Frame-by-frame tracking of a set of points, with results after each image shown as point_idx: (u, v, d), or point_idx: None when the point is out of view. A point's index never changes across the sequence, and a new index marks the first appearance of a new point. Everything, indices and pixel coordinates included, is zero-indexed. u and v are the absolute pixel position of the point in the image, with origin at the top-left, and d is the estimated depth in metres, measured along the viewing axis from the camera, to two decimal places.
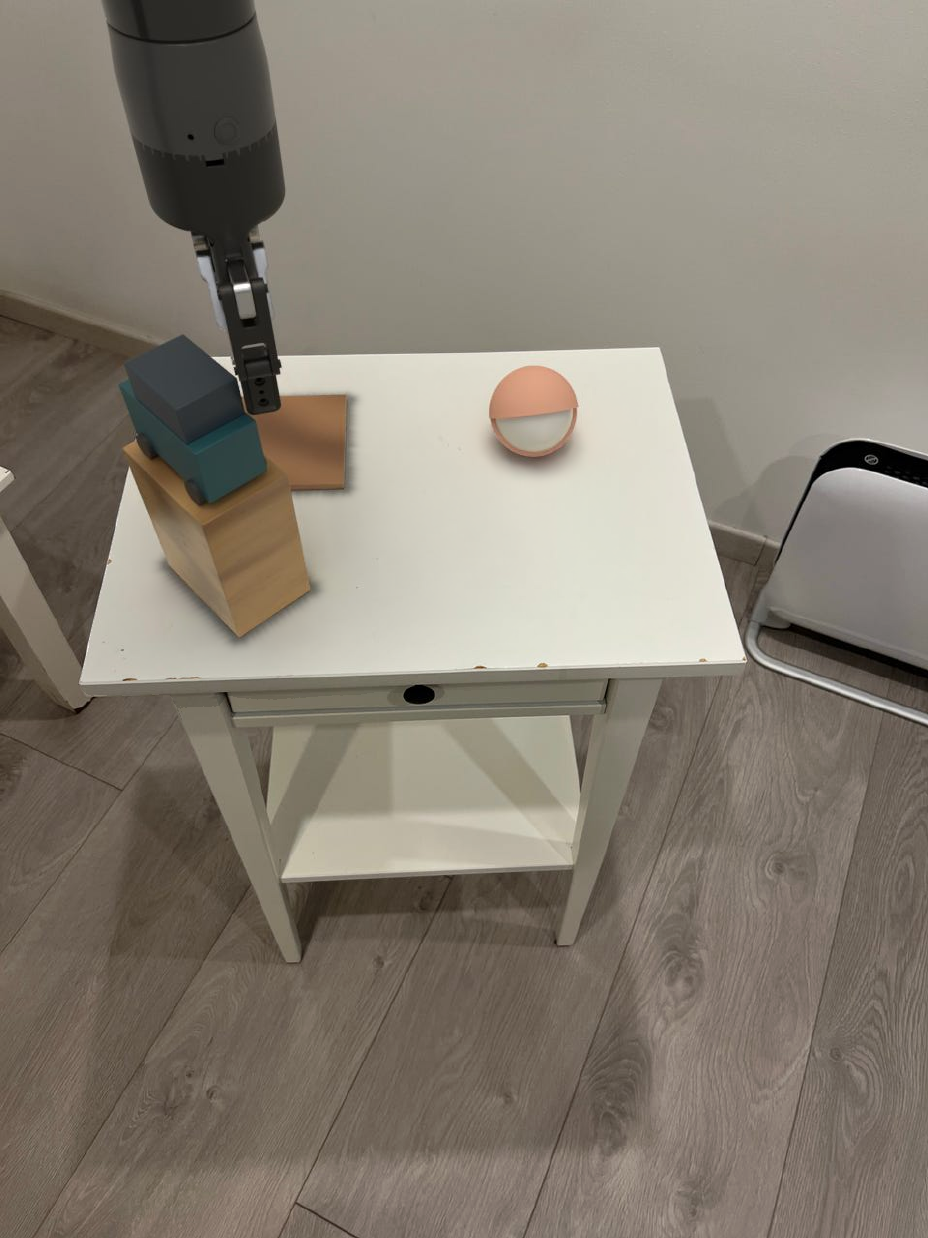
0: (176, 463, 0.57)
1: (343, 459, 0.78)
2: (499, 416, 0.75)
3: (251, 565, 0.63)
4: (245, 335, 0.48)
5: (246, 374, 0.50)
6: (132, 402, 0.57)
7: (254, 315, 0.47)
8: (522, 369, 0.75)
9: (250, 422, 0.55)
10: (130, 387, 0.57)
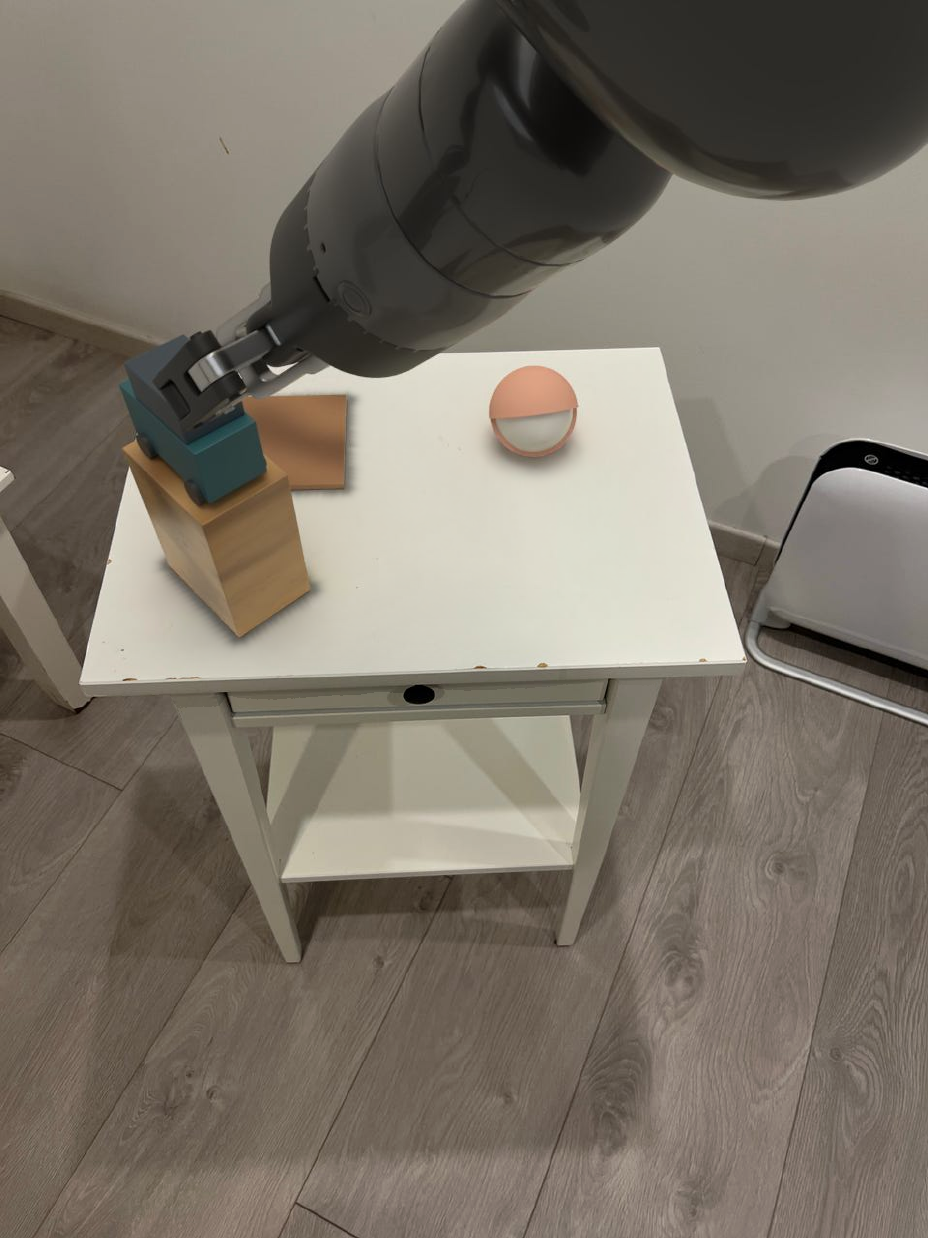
0: (175, 463, 0.57)
1: (343, 459, 0.78)
2: (499, 416, 0.75)
3: (251, 565, 0.63)
4: (180, 381, 0.34)
5: (159, 389, 0.36)
6: (132, 402, 0.57)
7: (199, 389, 0.34)
8: (522, 369, 0.75)
9: (250, 422, 0.55)
10: (130, 387, 0.57)
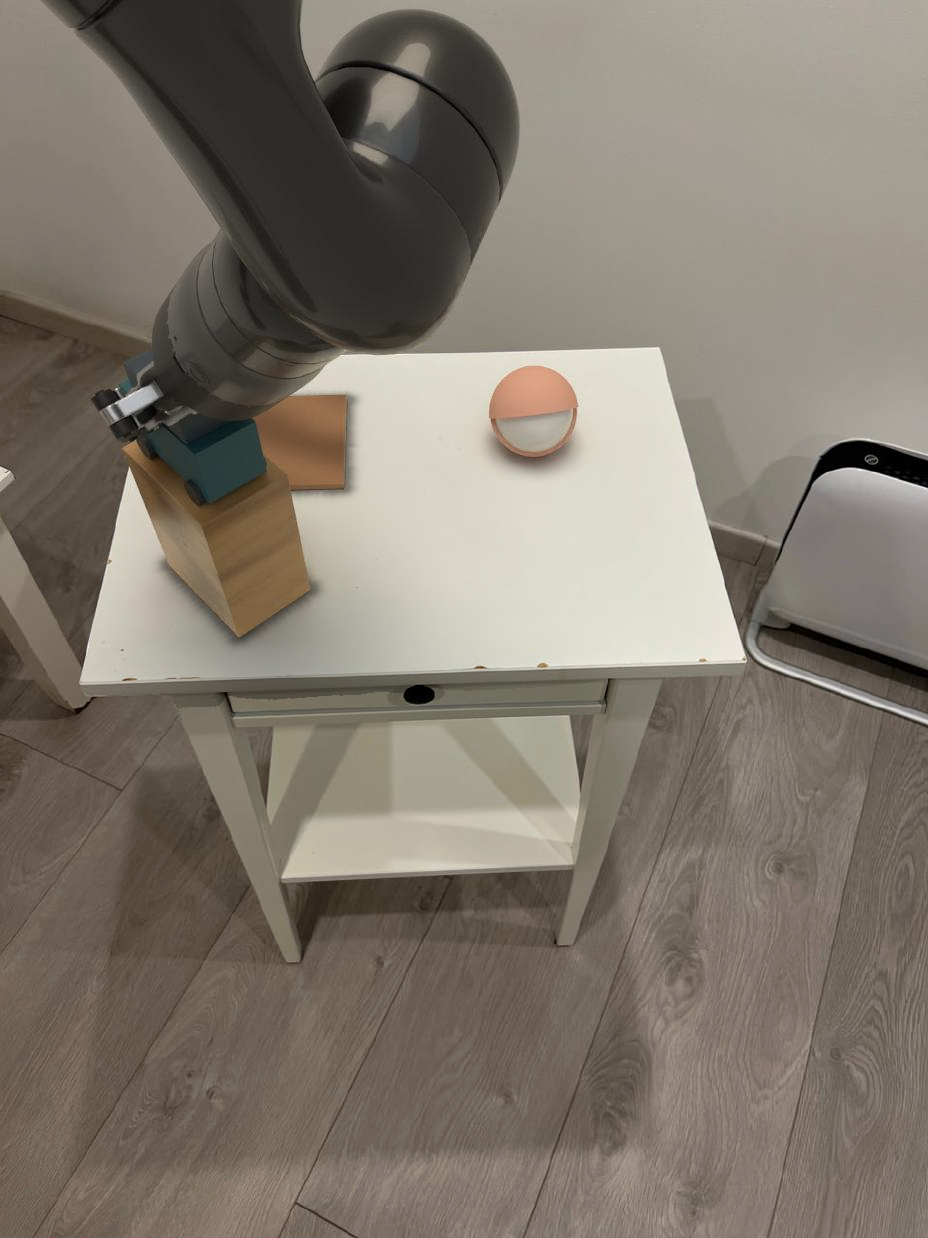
0: (175, 463, 0.57)
1: (343, 459, 0.78)
2: (499, 416, 0.75)
3: (251, 565, 0.63)
4: None
5: None
6: None
7: None
8: (522, 369, 0.75)
9: (250, 422, 0.55)
10: (130, 387, 0.57)
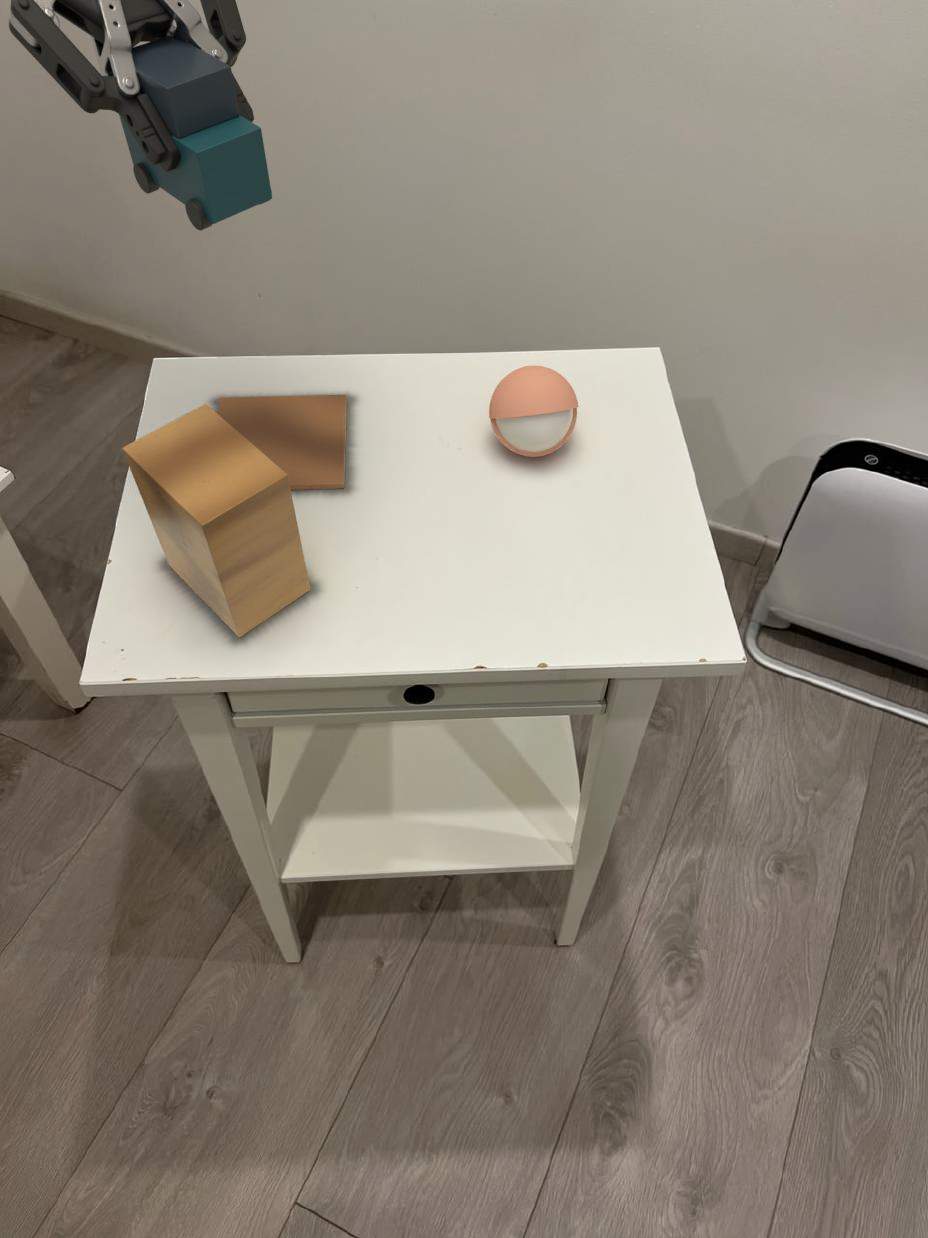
0: None
1: (343, 459, 0.78)
2: (499, 416, 0.75)
3: (251, 565, 0.63)
4: None
5: None
6: None
7: None
8: (522, 369, 0.75)
9: None
10: (246, 124, 0.52)
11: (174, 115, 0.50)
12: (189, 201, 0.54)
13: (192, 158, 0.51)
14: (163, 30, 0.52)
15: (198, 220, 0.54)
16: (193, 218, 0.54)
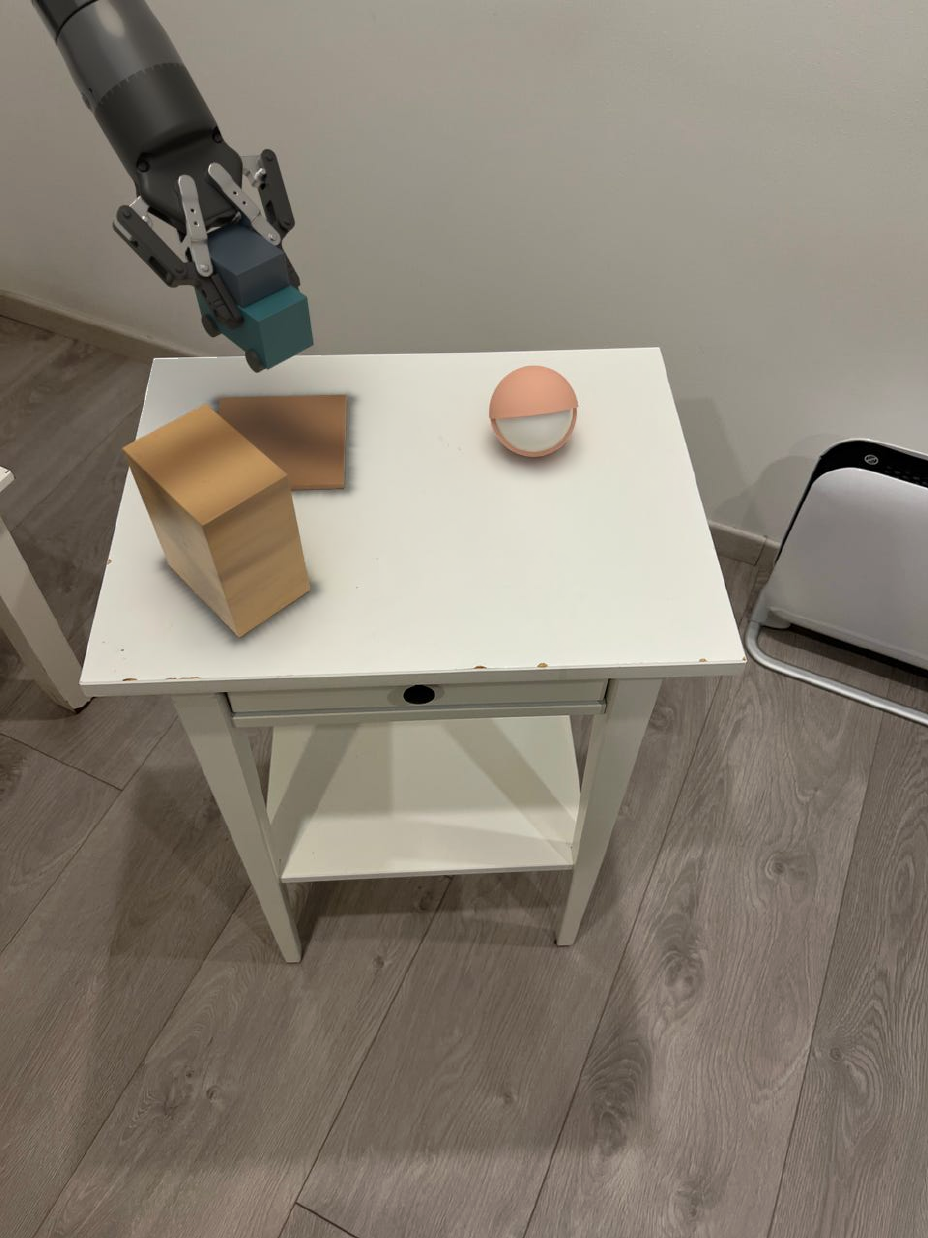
0: None
1: (343, 459, 0.78)
2: (499, 416, 0.75)
3: (251, 565, 0.63)
4: None
5: None
6: None
7: None
8: (522, 369, 0.75)
9: None
10: (295, 293, 0.66)
11: (240, 293, 0.64)
12: (249, 352, 0.67)
13: (253, 323, 0.65)
14: (230, 219, 0.66)
15: (255, 365, 0.68)
16: (251, 364, 0.68)
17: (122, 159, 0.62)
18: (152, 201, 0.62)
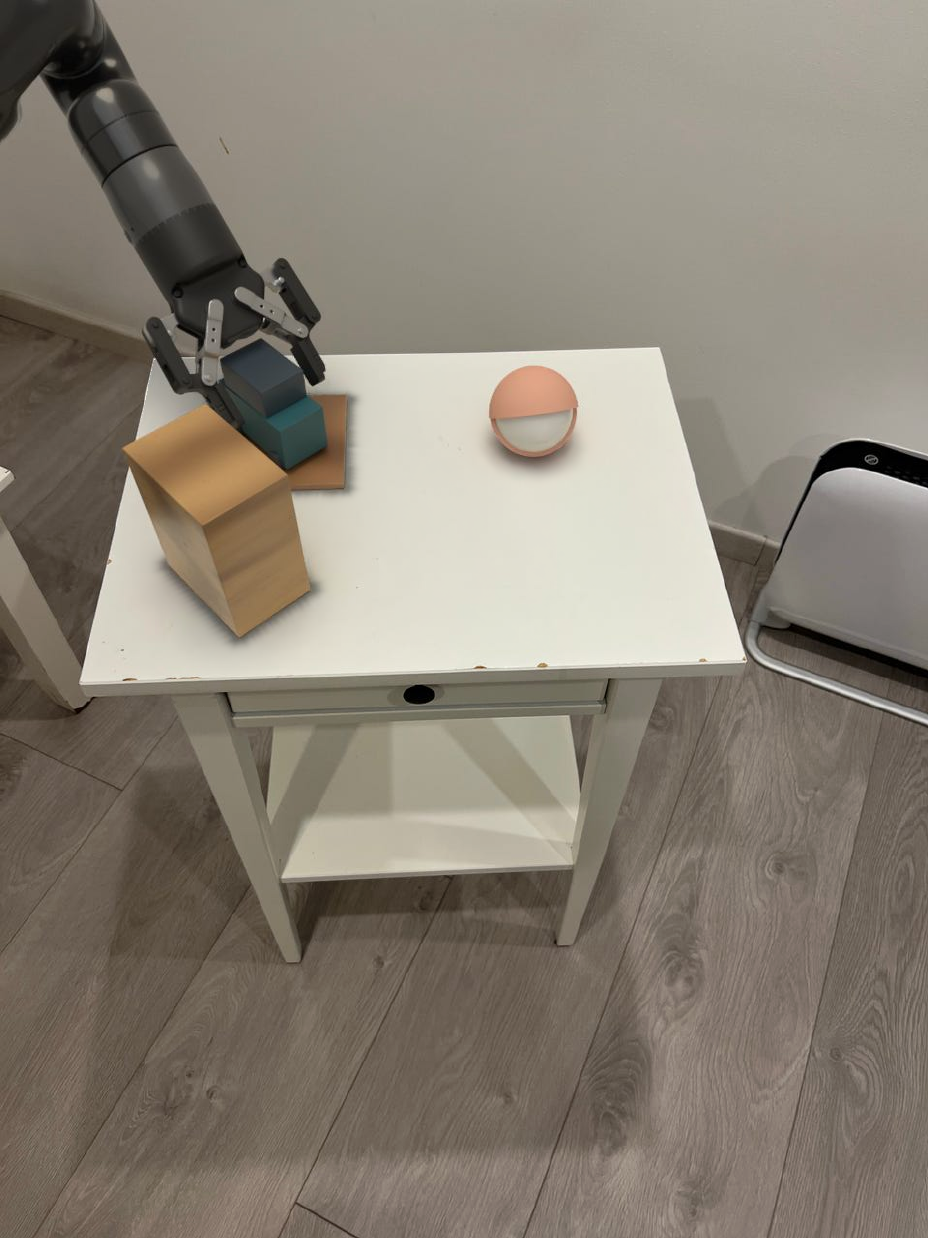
0: None
1: (343, 459, 0.78)
2: (499, 416, 0.75)
3: (251, 565, 0.63)
4: None
5: (317, 313, 0.76)
6: None
7: None
8: (522, 369, 0.75)
9: (221, 379, 0.76)
10: (312, 404, 0.75)
11: (264, 406, 0.72)
12: (270, 454, 0.76)
13: (275, 432, 0.73)
14: (253, 333, 0.74)
15: None
16: None
17: (159, 286, 0.70)
18: (185, 323, 0.70)
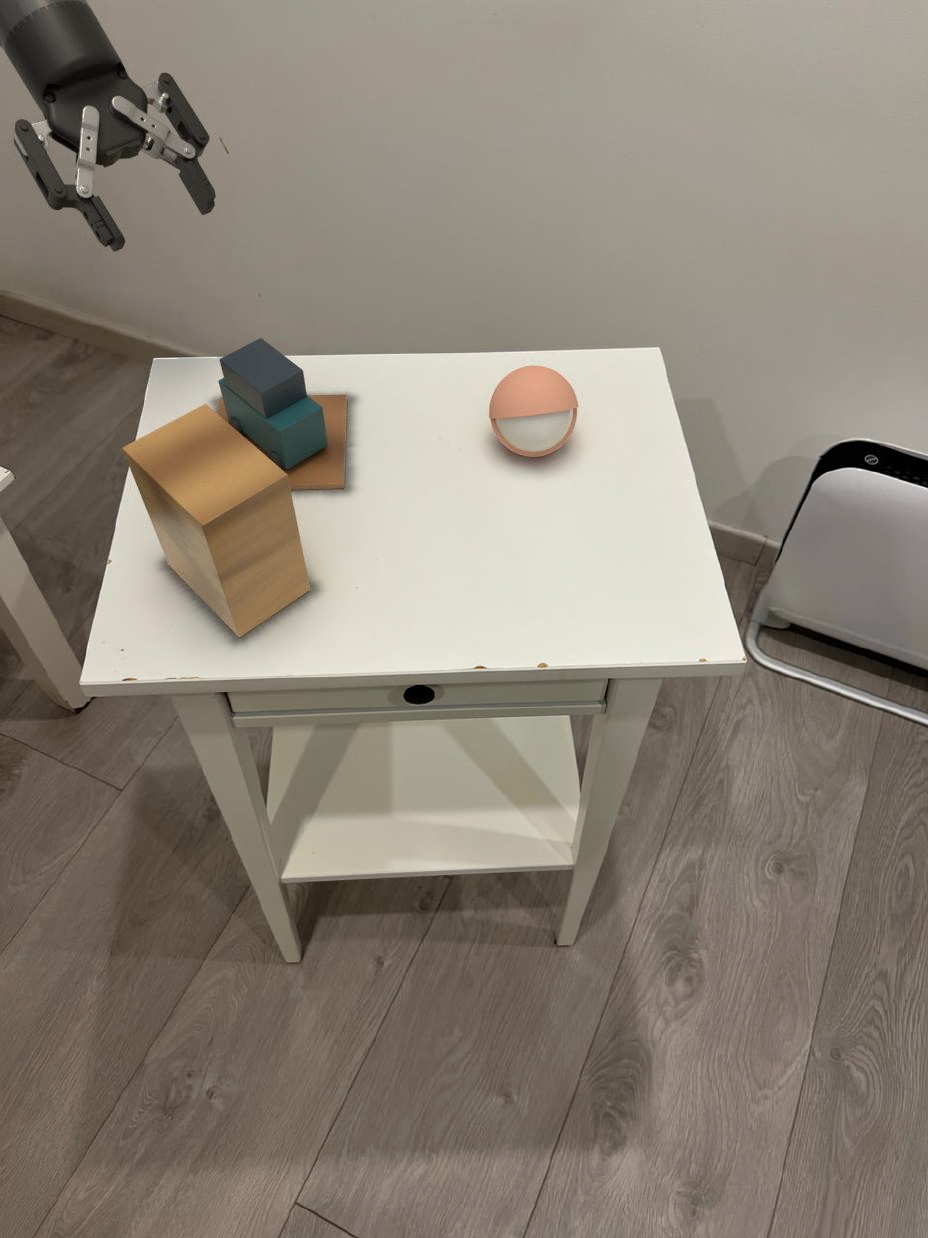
0: None
1: (343, 459, 0.78)
2: (499, 416, 0.75)
3: (251, 565, 0.63)
4: None
5: (206, 135, 0.73)
6: None
7: None
8: (522, 369, 0.75)
9: (221, 379, 0.76)
10: (312, 404, 0.75)
11: (264, 406, 0.72)
12: (270, 454, 0.76)
13: (275, 432, 0.73)
14: (136, 151, 0.71)
15: None
16: None
17: (31, 92, 0.67)
18: (59, 130, 0.67)
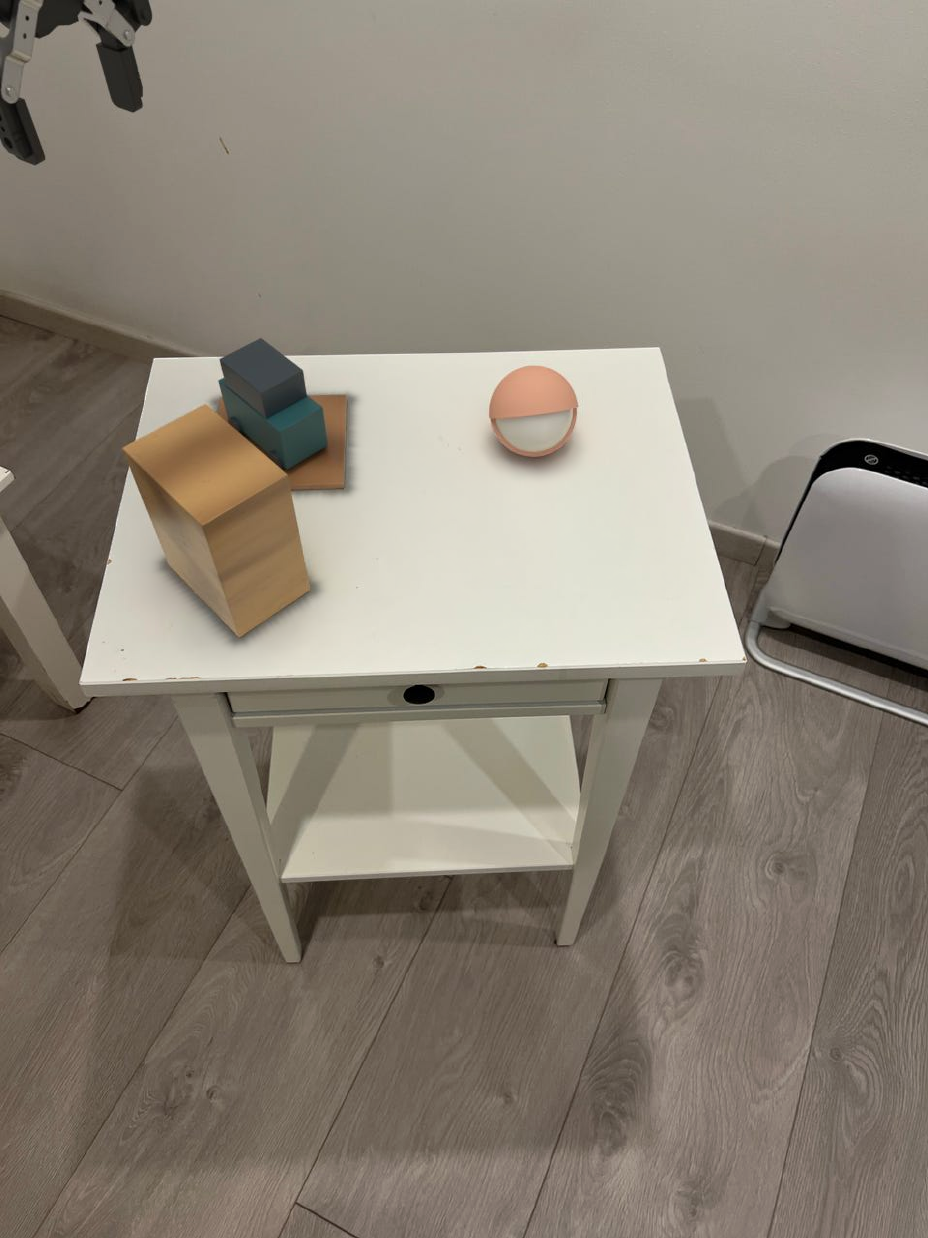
0: None
1: (343, 459, 0.78)
2: (499, 416, 0.75)
3: (251, 565, 0.63)
4: None
5: None
6: None
7: None
8: (522, 369, 0.75)
9: (221, 379, 0.76)
10: (312, 404, 0.75)
11: (264, 406, 0.72)
12: (270, 454, 0.76)
13: (275, 432, 0.73)
14: None
15: None
16: None
17: None
18: None
